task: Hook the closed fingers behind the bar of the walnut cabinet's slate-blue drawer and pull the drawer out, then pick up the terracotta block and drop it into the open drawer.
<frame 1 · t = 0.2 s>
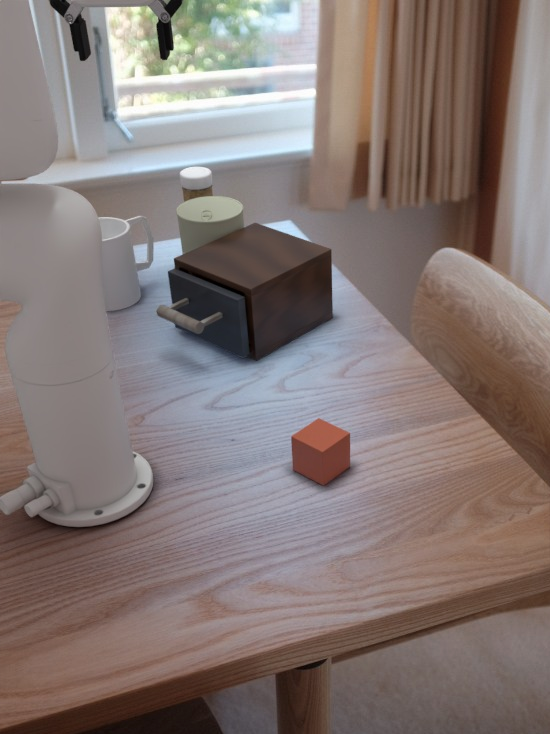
hand: (125, 57, 109), 31 cm above the table, tool pointing down, fingers open, 9 cm apart
sprinkles bottle: (205, 261, 138), on the table
can: (218, 288, 131), on the table
block: (321, 468, 97), on the table
cup: (123, 294, 129), on the table
drawer: (230, 301, 116), point 5 cm above the table, slide at 0.5 cm
cabinet: (258, 322, 122), on the table
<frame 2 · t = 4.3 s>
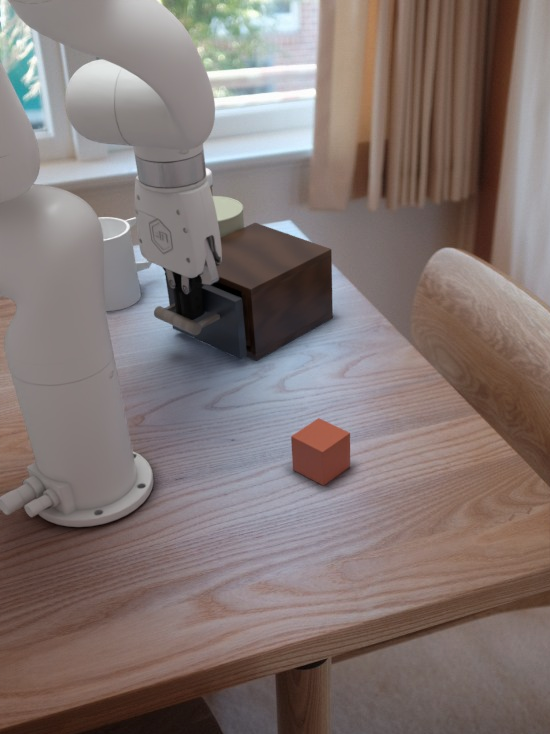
hand: (191, 316, 112), 5 cm above the table, tool pointing down, fingers closed
drawer: (227, 303, 116), point 5 cm above the table, slide at 1.0 cm, touching gripper
everything else where it was.
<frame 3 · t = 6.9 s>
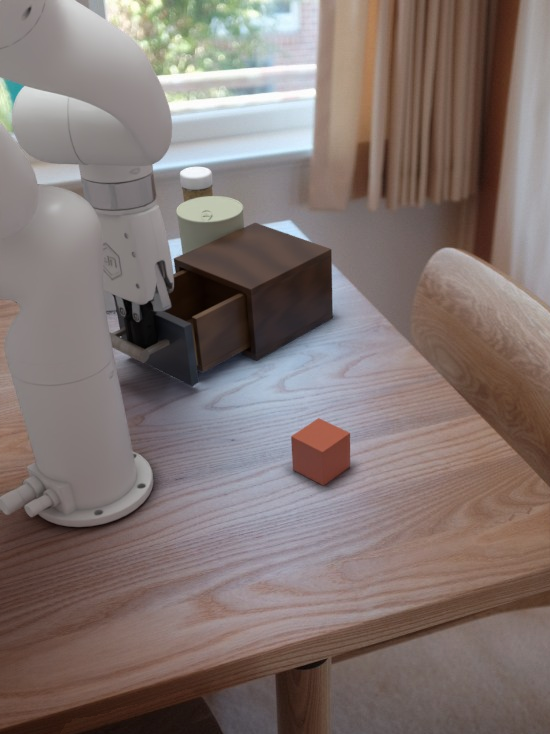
hand: (143, 345, 107), 5 cm above the table, tool pointing down, fingers closed
drawer: (180, 327, 111), point 5 cm above the table, slide at 9.1 cm, touching gripper
everything else where it was.
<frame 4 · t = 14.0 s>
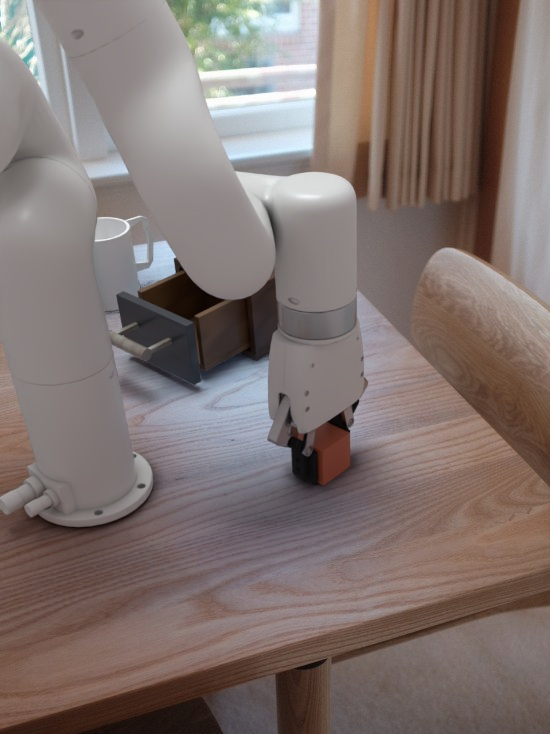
hand: (321, 465, 97), 0 cm above the table, tool pointing down, fingers closed on block, 4 cm apart
block: (321, 468, 97), on the table, touching gripper
drawer: (182, 325, 112), point 5 cm above the table, slide at 8.7 cm
everything else where it was.
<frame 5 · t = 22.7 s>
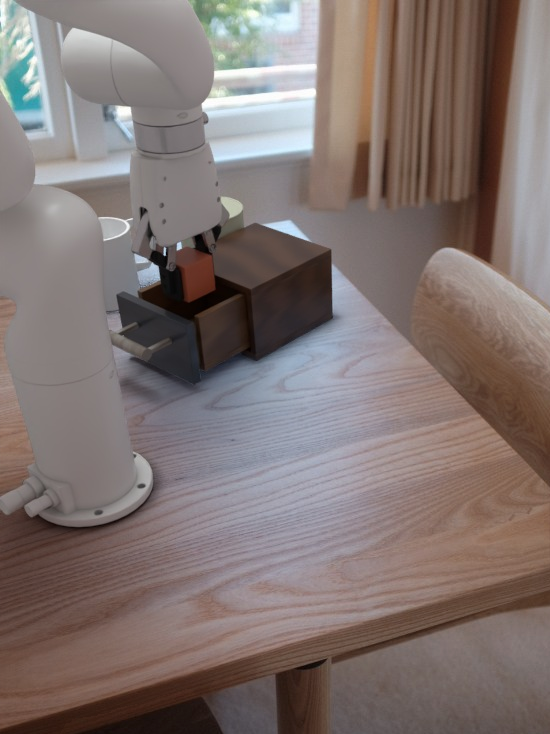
hand: (189, 288, 110), 9 cm above the table, tool pointing down, fingers closed on block, 4 cm apart
block: (190, 291, 110), point 9 cm above the table, touching gripper
everything else where it was.
when the fingers open (12 cm above the table, at t = 33.0 s): block drops 9 cm, resting on drawer.
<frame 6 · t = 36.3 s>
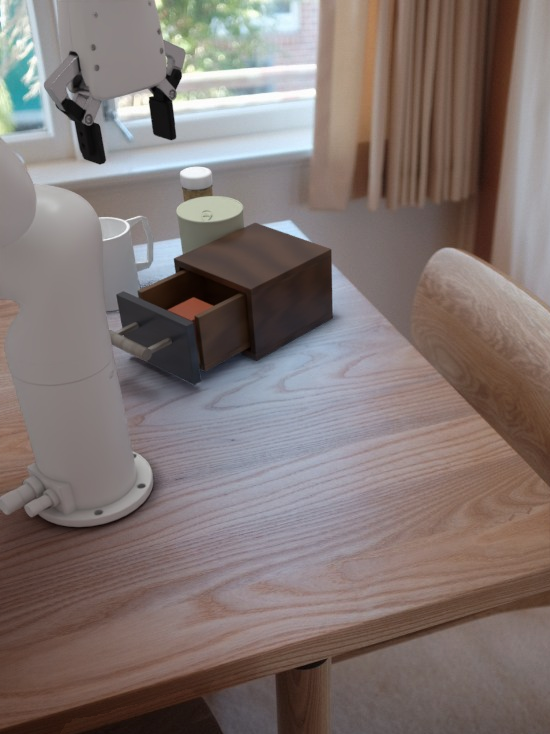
hand: (130, 149, 98), 26 cm above the table, tool pointing down, fingers open, 9 cm apart
block: (196, 340, 114), point 2 cm above the table, touching drawer
drawer: (182, 325, 112), point 5 cm above the table, slide at 8.7 cm, touching block
everything else where it was.
at the end: drawer slide at 8.7 cm; block inside the target area in the cabinet (6.0 cm from its centre), point 2.1 cm above the cabinet's base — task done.
